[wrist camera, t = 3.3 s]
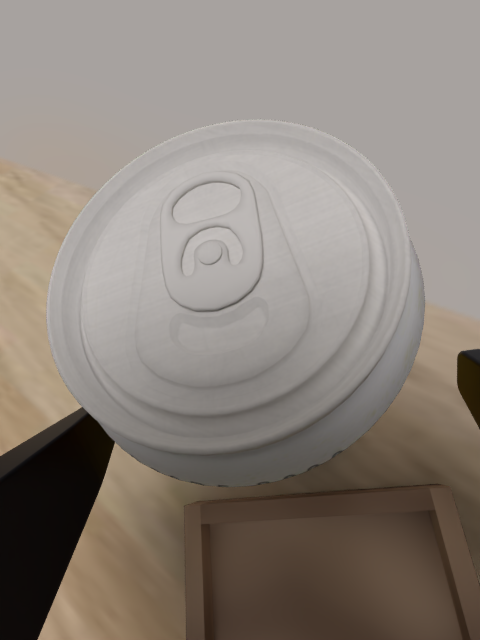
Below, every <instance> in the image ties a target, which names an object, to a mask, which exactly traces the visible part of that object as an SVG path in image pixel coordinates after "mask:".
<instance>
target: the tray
mask: <svg viewBox="0 0 480 640" xmlns="http://www.w3.org/2000/svg"><path fill="white" fill-rule="evenodd" d="M184 527H185V587H186V640H480V585H479V582H478V579H477V575H476V572H475V568H474V565H473V562H472V558H471V555H470V551H469V548H468V545H467V541H466V538H465V534H464V531H463V528H462V524H461V521H460V517H459V514H458V511H457V507H456V504H455V500H454V497H453V494H452V490H451V487H449V486H445V485H441V484H429V485H416V486H402V487H389V488H375V489H361V490H348V491H334V492H321V493H307V494H293V495H280V496H266V497H252V498H239V499H225V500H212V501H198V502H194V503H191V504H188V505H185V506H184Z"/></svg>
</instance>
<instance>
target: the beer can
mask: <svg viewBox="0 0 480 640" xmlns="http://www.w3.org/2000/svg"><path fill="white" fill-rule="evenodd" d="M424 311H425V296H424V283H423V277H422V272H421V268H420V264H419V259H418V257H417V254H416V252H415V249H414V246H413V244H412V241H411V240H410V237H409V233H408V229H407V224H406V220H405V217H404V214H403V212H402V209H401V207H400V204H399V201H398V199H397V197H396V196H395V194H394V192H393V190H392V189H391V187H390V185H389V183H388V182H387V181H386V180H385V178H384V177H383V176H382V175H381V173H380V172H379V171H378V169H377V168H376V167H375V166H374V165H373V164H372V163H371V162H369V160H368V159H367V158H365V157H364V156H363V155H362V154H361V153H359V152H358V151H357V150H355V149H354V148H353V147H351V146H350V145H348V144H347V143H345V142H343V141H341V140H340V139H338V138H336V137H334V136H332V135H329V134H327V133H325V132H322V131H320V130H318V129H314V128H311V127H308V126H304V125H301V124H296V123H290V122H285V121H276V120H239V121H229V122H224V123H219V124H213V125H209V126H205V127H202V128H198V129H195V130H192V131H189V132H186V133H183V134H181V135H178V136H176V137H174V138H172V139H169V140H167V141H165V142H163V143H161V144H159V145H157V146H155V147H154V148H152V149H150V150H148V151H146V152H145V153H143V154H142V155H140V156H139V157H137V158H136V159H134V160H133V161H131V162H130V163H129V164H127V165H126V166H125V167H123V168H122V169H121V170H119V171H118V172H117V173H116V174H115V175H114V176H113V177H112V178H110V179H109V180H108V181H107V182H106V183H105V184H104V185H103V186H102V187H101V188H100V189H99V190H98V191H97V192H96V193H95V195H94V196H93V197H92V198H91V199H90V201H89V202H88V203H87V204H86V206H85V207H84V208H83V210H82V211H81V212H80V214H79V215H78V217H77V218H76V220H75V221H74V223H73V225H72V226H71V228H70V230H69V232H68V233H67V235H66V237H65V239H64V241H63V243H62V246H61V248H60V250H59V252H58V255H57V258H56V261H55V264H54V267H53V270H52V274H51V278H50V283H49V288H48V296H47V310H46V322H47V331H48V339H49V343H50V347H51V352H52V356H53V358H54V361H55V364H56V366H57V369H58V371H59V374H60V375H61V377H62V379H63V381H64V383H65V384H66V386H67V388H68V390H69V391H70V392H71V394H72V395H73V396H74V397H75V399H76V400H77V401H78V403H79V404H80V405H81V406H82V407H83V408H84V409H85V410H86V411H87V412H88V413H89V414H90V415H91V416H92V417H93V418H94V419H95V420H97V421H98V422H99V424H100V425H101V426H102V428H103V429H104V430H105V431H106V433H107V434H108V435H109V436H110V437H111V438H112V439H113V440H114V441H115V442H116V443H117V444H118V445H119V446H120V447H121V448H122V449H123V450H124V451H126V452H127V453H128V454H130V455H131V456H132V457H134V458H135V459H136V460H138V461H139V462H141V463H143V464H144V465H146V466H148V467H150V468H152V469H154V470H156V471H157V472H159V473H162V474H165V475H168V476H170V477H173V478H176V479H178V480H181V481H186V482H191V483H195V484H200V485H206V486H218V487H241V486H254V485H260V484H265V483H271V482H276V481H280V480H283V479H286V478H289V477H292V476H295V475H298V474H301V473H304V472H306V471H308V470H310V469H312V468H314V467H316V466H318V465H320V464H322V463H325V462H327V461H328V460H330V459H331V458H333V457H334V456H336V455H337V454H339V453H340V452H342V451H344V450H345V449H347V448H348V447H349V446H351V445H352V444H353V443H354V442H355V441H356V440H358V439H359V438H360V437H361V436H362V435H364V434H365V433H366V432H367V431H368V430H369V429H370V428H371V427H372V426H373V425H374V424H375V423H376V421H377V420H378V419H379V418H380V417H381V416H382V415H383V414H384V413H385V412H386V410H387V409H388V407H389V406H390V404H391V403H392V402H393V400H394V399H395V397H396V396H397V394H398V393H399V391H400V390H401V388H402V386H403V384H404V382H405V380H406V378H407V376H408V374H409V372H410V370H411V368H412V365H413V363H414V360H415V357H416V354H417V351H418V348H419V345H420V340H421V335H422V330H423V325H424Z"/></svg>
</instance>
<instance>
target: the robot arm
mask: <svg viewBox="0 0 480 640" xmlns="http://www.w3.org/2000/svg"><path fill="white" fill-rule="evenodd" d="M457 385H458V389H459V391H460V394H461V395H462V397H463V399H464V401H465V403H466V405H467V407H468V408H469V410H470V412H471V414H472V416H473V418H474V420H475V421H476V423H477V425H478V427H479V429H480V349H474V350H466V351H461V352H460V353H459V354H458V357H457ZM114 444H115V441H114V440H113V439H112V438H111V437H110V436H109V435H108V434H107V433H106V431H105V430H104V429H103V428H102V426H101V425H100V424H99V422H98V421H97V420H95V419H94V418H93V417H92V416H91V415H90V414H89V413H88V412H87V411H86V410H85V409H84V408H83V407H82V408H80V409H79V410H77V411H75V412H74V413H72V414H70V415H69V416H67V417H65V418H64V419H62V420H60V421H58V422H57V423H55V424H53V425H52V426H50V427H48V428H47V429H45V430H43V431H42V432H40V433H38V434H37V435H35V436H33V437H32V438H30V439H28V440H27V441H25V442H23V443H22V444H20V445H18V446H17V447H15V448H13V449H12V450H10V451H8V452H7V453H5V454H3V455H2V456H0V640H37V639H38V637H39V635H40V632H41V630H42V627H43V625H44V623H45V620H46V618H47V615H48V613H49V611H50V608H51V606H52V603H53V601H54V599H55V596H56V594H57V591H58V589H59V587H60V584H61V582H62V579H63V577H64V574H65V572H66V570H67V567H68V565H69V562H70V560H71V558H72V555H73V553H74V550H75V548H76V546H77V543H78V541H79V538H80V536H81V534H82V531H83V529H84V526H85V524H86V522H87V519H88V517H89V514H90V512H91V509H92V507H93V505H94V502H95V500H96V497H97V495H98V493H99V490H100V487H101V485H102V482H103V479H104V476H105V473H106V470H107V466H108V463H109V460H110V457H111V453H112V450H113V447H114Z"/></svg>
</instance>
